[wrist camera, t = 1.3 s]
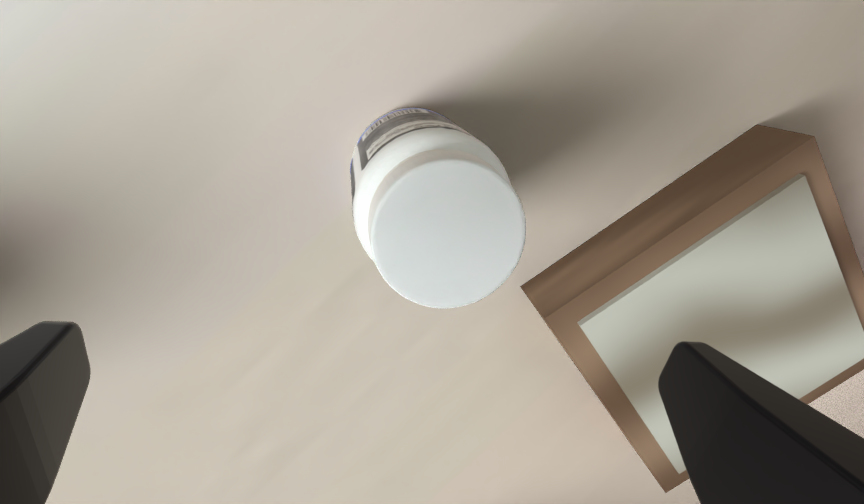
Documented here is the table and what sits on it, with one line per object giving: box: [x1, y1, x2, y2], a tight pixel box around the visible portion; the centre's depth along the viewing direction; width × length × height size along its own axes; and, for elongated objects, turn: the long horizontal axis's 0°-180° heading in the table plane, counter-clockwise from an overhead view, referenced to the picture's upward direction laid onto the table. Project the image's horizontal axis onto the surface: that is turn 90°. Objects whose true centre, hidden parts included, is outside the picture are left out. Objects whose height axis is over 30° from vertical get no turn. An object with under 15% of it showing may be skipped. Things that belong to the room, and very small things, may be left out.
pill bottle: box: [350, 108, 526, 308], centre depth 17 cm, size 5×5×8 cm
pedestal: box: [521, 125, 864, 493], centre depth 24 cm, size 12×12×3 cm
